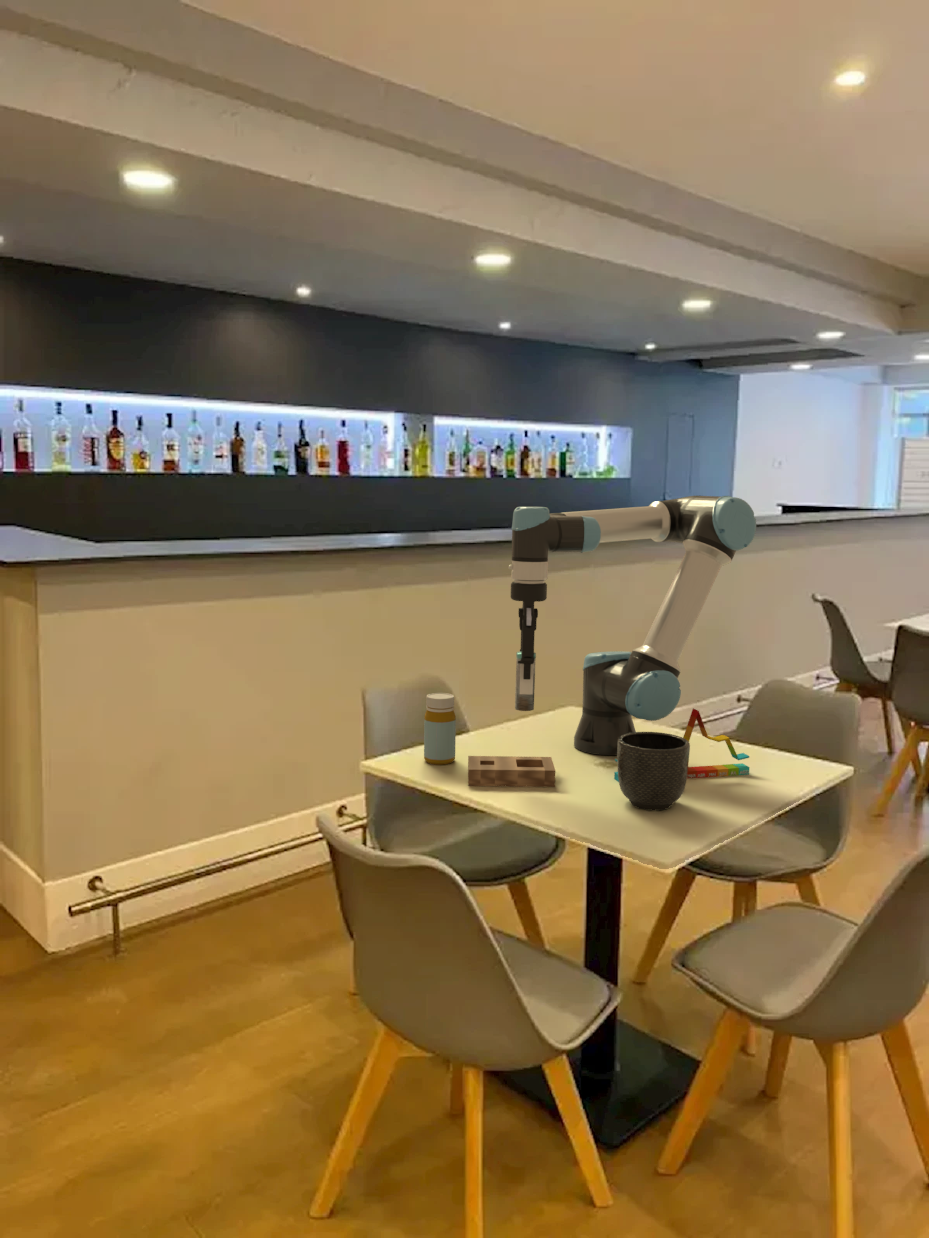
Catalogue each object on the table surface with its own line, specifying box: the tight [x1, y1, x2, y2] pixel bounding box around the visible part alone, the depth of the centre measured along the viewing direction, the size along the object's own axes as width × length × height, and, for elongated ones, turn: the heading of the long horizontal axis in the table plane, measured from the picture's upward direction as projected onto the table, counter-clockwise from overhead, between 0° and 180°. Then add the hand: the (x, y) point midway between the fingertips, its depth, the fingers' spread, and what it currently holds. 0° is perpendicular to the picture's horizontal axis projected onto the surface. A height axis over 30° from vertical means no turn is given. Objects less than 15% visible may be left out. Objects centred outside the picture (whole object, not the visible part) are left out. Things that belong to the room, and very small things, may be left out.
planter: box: [616, 731, 691, 811], centre depth 192 cm, size 14×14×13 cm
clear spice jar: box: [514, 650, 537, 712], centre depth 206 cm, size 4×4×12 cm
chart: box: [613, 708, 750, 783], centre depth 210 cm, size 30×3×15 cm, turn 104°
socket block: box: [467, 755, 556, 788], centre depth 207 cm, size 18×10×4 cm, turn 90°
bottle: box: [423, 692, 457, 766], centre depth 219 cm, size 7×7×15 cm
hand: (525, 691), depth 206 cm, fingers closed on clear spice jar, 4 cm apart
